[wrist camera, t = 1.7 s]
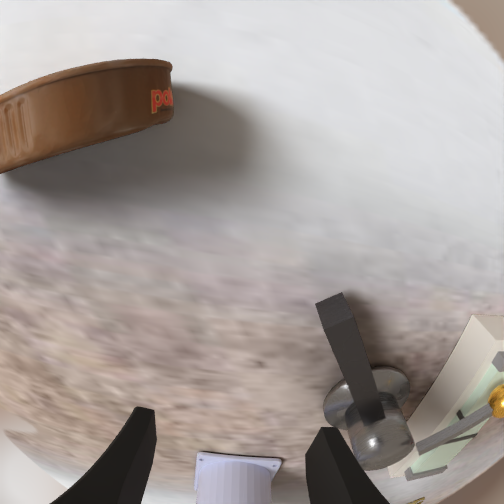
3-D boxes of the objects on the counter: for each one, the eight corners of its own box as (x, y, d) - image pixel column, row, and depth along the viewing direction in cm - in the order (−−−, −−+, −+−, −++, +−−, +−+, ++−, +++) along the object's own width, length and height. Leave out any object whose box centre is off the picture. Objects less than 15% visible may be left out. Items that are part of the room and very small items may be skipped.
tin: (188, 70, 14) (130, 25, 6) (193, 129, 15) (138, 139, 7) (-20, 134, 14) (-113, 160, 6) (-14, 178, 15) (-104, 219, 8)
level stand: (431, 444, 27) (444, 475, 23) (382, 452, 27) (393, 487, 22) (518, 317, 20) (547, 346, 16) (472, 313, 20) (504, 350, 15)
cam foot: (480, 364, 21) (517, 419, 15) (335, 433, 24) (351, 502, 17) (475, 218, 16) (551, 266, 10) (269, 314, 18) (278, 408, 12)
